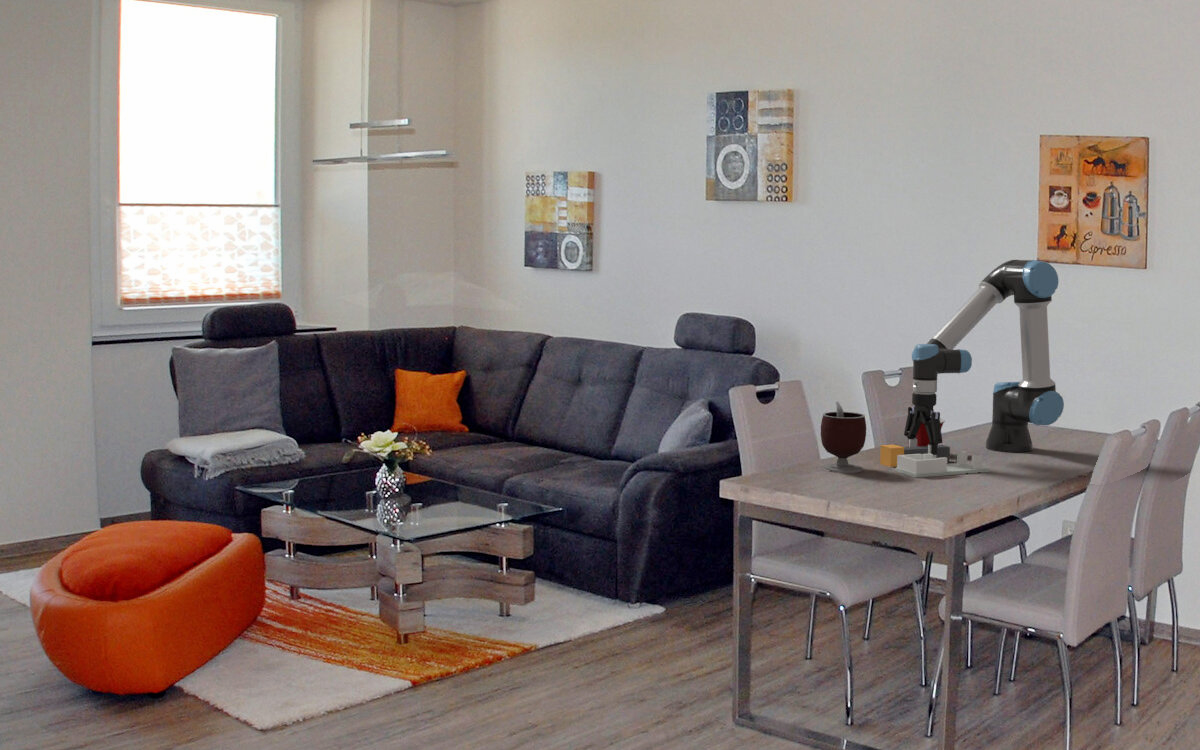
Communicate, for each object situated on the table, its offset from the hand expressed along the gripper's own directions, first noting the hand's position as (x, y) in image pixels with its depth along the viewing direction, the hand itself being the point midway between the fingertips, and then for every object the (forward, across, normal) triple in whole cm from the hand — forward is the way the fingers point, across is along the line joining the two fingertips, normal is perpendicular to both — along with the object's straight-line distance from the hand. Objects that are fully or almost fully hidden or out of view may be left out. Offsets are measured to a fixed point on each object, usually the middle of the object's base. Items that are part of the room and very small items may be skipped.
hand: (921, 461), depth 402 cm
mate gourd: (+1, 0, -30) cm, 30 cm away
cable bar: (0, 0, -2) cm, 2 cm away
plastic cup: (0, -14, +12) cm, 19 cm away
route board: (0, +14, -3) cm, 15 cm away
